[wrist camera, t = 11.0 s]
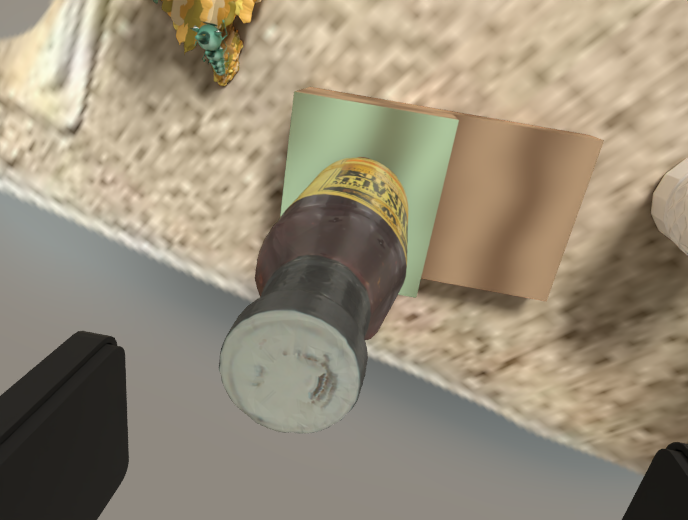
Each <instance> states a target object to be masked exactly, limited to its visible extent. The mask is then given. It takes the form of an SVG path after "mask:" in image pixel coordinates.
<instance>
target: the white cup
mask: <svg viewBox="0 0 688 520" xmlns="http://www.w3.org/2000/svg"><path fill="white" fill-rule="evenodd" d="M651 215H652V217H653V219H654V221H655V224H656V226H657V228H658V230H659V231H660V232H661V233H662V234H664V235H665V236H666V237H668V238H669V239H670V240H672V241H673V242H674V243H675V244H676V245H677V246H678V247H679V248H680V250H681V251H683V252H684V253H685V254H686V255H687V256H688V158H687V159H684V160H683V161H682V162H680V163H679V164H678V165H676V166H675V167H674V168H672V169H671V170H670V171H668V172H667V173H666V174H665V175H664V177H663V178H662V180H661V181H660V183H659V185H658V186H657V188H656V190H655V191H654V193H653V199H652V208H651Z"/></svg>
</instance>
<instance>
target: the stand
mask: <svg viewBox="0 0 688 520" xmlns="http://www.w3.org/2000/svg"><path fill="white" fill-rule="evenodd" d="M603 142H604V140H601V139H598V138H596V137H593V136H591V135H586V134H580V133H574V132H568V131H562V130H557V129H551V128H545V127H539V126H533V125H528V124H522V123H516V122H510V121H505V120H499V119H493V118H487V117H481V116H476V115H470V114H464V113H458V112H453V111H447V110H441V109H435V108H429V107H424V106H418V105H412V104H406V103H400V102H395V101H389V100H383V99H377V98H372V97H366V96H360V95H354V94H348V93H343V92H337V91H331V90H325V89H319V88H314V87H308V88H305V89H302V90H298V91H295V92H294V98H293V107H292V116H291V125H290V134H289V143H288V152H287V161H286V170H285V179H284V188H283V197H282V206H281V215H282V214H283V213H284V211H285V210H286V209H287V208H288V207H289V206H290V205H291V204H292V203H293V202H294V201H295V200H296V199H297V198H298V196H299V195H300V194H301V193H302V192H303V191H304V190H305V189H306V188H307V187H308V186H309V184H310V183H311V182H312V181H313V180H314V179H315V178H316V177H317V176H318V174H319V173H320V172H322V171H323V170H324V169H325V168H326V167H328V166H329V165H331V164H332V163H334V162H336V161H339V160H342V159H346V158H357V157H366V158H369V159H371V160H374V161H377V162H379V163H381V164H382V165H384V166H385V167H387V168H389V169H390V170H391V171H392V172H393V173H394V174H395V175H396V176H397V178H398V180H399V181H400V182H401V184H402V186H403V188H404V190H405V193H406V196H407V201H408V245H407V270H406V278H405V281H404V284H403V286H402V288H401V290H400V292H399V293H398V295H404V296H409V297H414V298H416V297H417V293H418V288H419V284H420V280H421V278H422V279H427V280H432V281H438V282H443V283H449V284H454V285H460V286H465V287H471V288H476V289H481V290H487V291H492V292H498V293H503V294H509V295H514V296H520V297H525V298H530V299H536V300H541V301H547V298H548V295H549V293H550V290H551V287H552V284H553V281H554V279H555V276H556V273H557V270H558V267H559V265H560V262H561V259H562V256H563V253H564V251H565V248H566V245H567V242H568V239H569V237H570V234H571V231H572V228H573V225H574V223H575V220H576V217H577V214H578V211H579V209H580V206H581V203H582V200H583V198H584V195H585V192H586V189H587V186H588V184H589V181H590V178H591V175H592V172H593V170H594V167H595V164H596V161H597V158H598V156H599V153H600V150H601V147H602V144H603ZM281 215H280V217H281Z"/></svg>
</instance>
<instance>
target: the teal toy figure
mask: <svg viewBox="0 0 688 520" xmlns="http://www.w3.org/2000/svg"><path fill="white" fill-rule="evenodd" d="M153 1H154V2H155V3H156V4H157V3H158V0H153ZM161 1H163V3H162V10H163V12H164V11H165V12H166V13H167V12H168V15H169V16H170V17H171V19H172V21H173V26H174V28H175V30H177V33H176V38H177V40H178V42H179V45H180V43H182V42H184V51H185V53H186V52H187V51H191V50H193V49H195V47H196V45H197V43H199V45H200V46H201V47H202V48H203V49H205V54H206V56H207V58H208V59H209V62H210V63H211V66H212V69H213V71H214V73H213V77H214V81H215V82H218V84H219V85H221V86H225V85H227V82H229V80H231V79H232V78H233V77H234V75H235V73H236V72H237V71H239V62H238V59H239V53H240V50H241V48H242V47H243V44H242V43H243V42H242V40H241V41H240V35H239V34H238V30H236V31H235V28H234V27H233V26H232V25H233V20H234V19H235V17H236V15H238V16H239V17H240V19H241V20H242V22H243V23H249V22H250V21H251V16H252V11H253V7H254V4H255V3H258V2H261V0H161ZM205 54H204V56H205ZM184 55H185V54H184ZM204 56H203V58H204ZM203 58H202V60H203ZM205 60H206V59H204V60H203V61H204V62H205ZM209 62H208V64H209Z"/></svg>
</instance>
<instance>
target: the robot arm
mask: <svg viewBox="0 0 688 520" xmlns="http://www.w3.org/2000/svg"><path fill="white" fill-rule="evenodd" d="M126 399H127V398H126V369H125V352H124V349H123V348H122V347H120V346H117V342H116V340H115V338H113V337H111V336H107V335H102V334H96V333H91V332H85V331H78V332H77V333H75V334H74V335H72V336H71V337H70V338H69V339H67V340H66V341H65V342H64V343H63V344H61V345H60V346H59V347H58V348H57V349H56V350H54V351H53V352H52V353H51V354H50V355H49V356H47V357H46V358H45V359H44V360H42V361H41V362H40V363H39V364H38V365H36V367H34V368H33V369H32V370H31V371H29V372H28V373H27V374H26V375H25V376H24V377H22V378H21V379H20V380H19V381H17V382H16V383H15V384H14V385H13V386H11V388H9V389H8V390H7V391H6V392H4V393H3V394H2V395H1V396H0V520H97V519H98V517H99V516H100V514H101V513H102V511H103V510H104V508H105V507H106V505H107V504H108V502H109V501H110V499H111V497H112V496H113V495H114V493H115V492H116V490H117V488H118V487H119V485H120V484H121V482H122V481H123V479H124V476H125V474H126V471H127V468H128V462H129V455H128V427H127V400H126ZM622 520H688V444H685V443H679V442H674V443H671V444H670V445H668V446H667V448H666V449H661V450H659V451H658V452H657V453H656V455H655V456H654V458H653V460H652V462H651V464H650V466H649V468H648V470H647V472H646V474H645V476H644V478H643V480H642V482H641V484H640V486H639V488H638V490H637V492H636V493H635V495H634V497H633V499H632V501H631V503H630V505H629V507H628V509H627V511H626V513H625V515H624V517H623V519H622Z"/></svg>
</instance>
